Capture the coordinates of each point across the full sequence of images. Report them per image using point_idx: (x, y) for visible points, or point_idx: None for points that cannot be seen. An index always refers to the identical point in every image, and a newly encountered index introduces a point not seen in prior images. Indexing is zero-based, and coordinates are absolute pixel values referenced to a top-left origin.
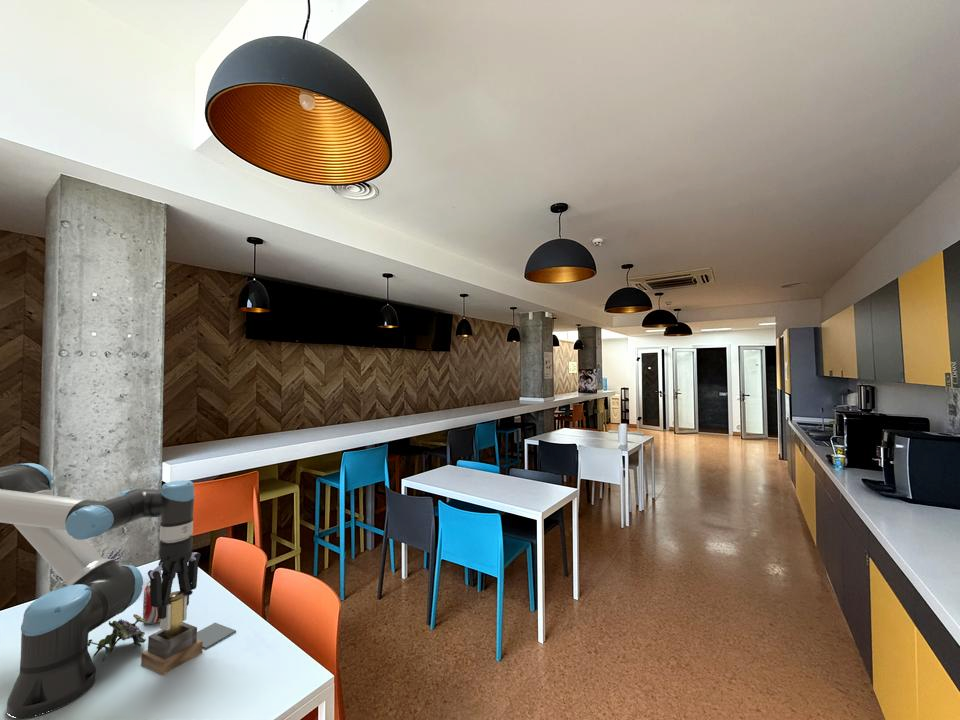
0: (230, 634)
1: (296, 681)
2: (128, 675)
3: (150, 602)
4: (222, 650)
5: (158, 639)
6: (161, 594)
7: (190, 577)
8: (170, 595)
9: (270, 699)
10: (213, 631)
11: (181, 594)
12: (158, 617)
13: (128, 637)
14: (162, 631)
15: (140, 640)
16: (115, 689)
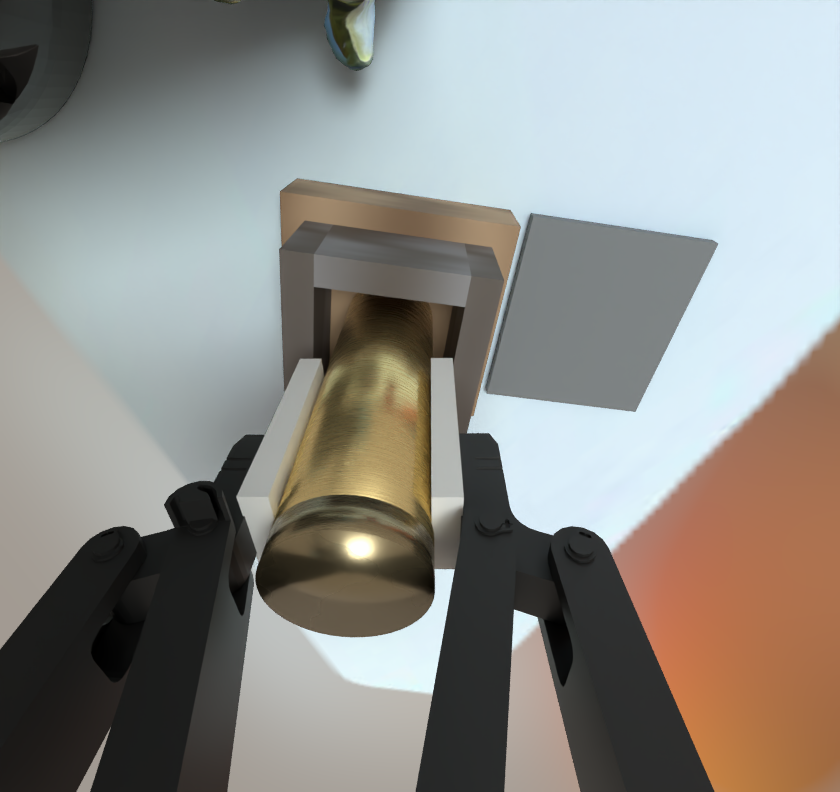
0: (605, 405)
1: (430, 667)
2: (218, 212)
3: (60, 578)
4: None
5: (290, 354)
6: (105, 733)
7: (582, 727)
8: (311, 572)
9: (363, 657)
10: (619, 316)
11: (379, 629)
12: (240, 440)
13: (229, 3)
14: (359, 290)
15: (332, 49)
16: (144, 259)
